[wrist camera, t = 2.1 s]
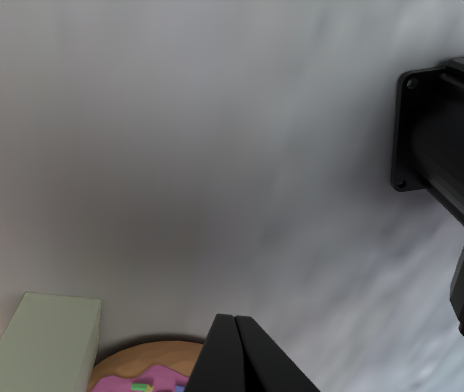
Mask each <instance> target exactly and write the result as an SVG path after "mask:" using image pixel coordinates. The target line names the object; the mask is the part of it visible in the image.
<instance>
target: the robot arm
mask: <svg viewBox="0 0 464 392" xmlns="http://www.w3.org/2000/svg"><path fill="white" fill-rule="evenodd" d="M412 78H414V82H413V84H412V85H411V86H409V87H408V86H407V83H408V81H409V80H410V79H412ZM401 180H404V181H403V183H402V184H400V185H398V183H399V182H400V181H401ZM391 185H392V187H393V188H394V189H395V190H396V191H398V192H404V191H412V190H419V189H427V190H428V191H429V192H430V193H431V194H432V195H433V196H434V197H435V198H436V199H437V200H438V201H439V202H440V203H441V204H442V205H443V206H444V207H445V208H446V209H447V210H448V211H449V212H450V213H451V214H452V215H453V216H454V217H455V218H456V219H457V220H458V221H459V222H460V223H461V224H462V225H463V226H464V57H461V58H454V59H450V60H449V61H448V62H447V63H445V66H443V67H436V68H429V69H422V70H414V71H409V72H406V73H404V74H403V75H402V76H401V78H400V80H399V85H398V97H397V109H396V121H395V133H394V146H393V158H392V170H391ZM450 302H451V304H452V307H453V309H454V311H455V314H456V316H457V318H458V320H459V321H460V324H459V331H460V333H461V334H462V335H463V336H464V247H463V250H462V253H461V256H460V257H459V260H458V263H457V266H456V270H455V273H454V276H453V279H452V282H451V287H450ZM183 392H320V390H319V389H318V388H317V387H316V386H315V385H314V384H313V383H312V382H311V381H310V380H309V379H308V377H307V376H306V375H305V374H304V373H303V372H302V371H301V370H300V369H299V368H298V367H297V366H296V364H295V363H294V362H293V361H292V360H291V359H290V358H289V357H288V356H287V355H286V354H285V353H284V351H283V350H282V349H281V348H280V347H279V346H278V345H277V344H276V343H275V342H274V341H273V340H272V338H271V337H270V336H269V335H268V334H267V333H266V332H265V331H264V330H263V329H262V328H261V327H260V325H259V324H258V323H257V322H256V321H255V320H254V319H253V318H252V317H249V316H238V315H237V316H235V317H234V316H232V315H227V314H217V315H216V317H215V319H214V321H213V324H212V326H211V328H210V330H209V333H208V335H207V337H206V340H205V342H204V344H203V347H202V349H201V351H200V353H199V356H198V358H197V360H196V363H195V365H194V367H193V370H192V372H191V374H190V377H189V379H188V381H187V383H186V386H185V388H184V390H183Z"/></svg>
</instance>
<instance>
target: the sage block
mask: <svg viewBox="0 0 464 392" xmlns="http://www.w3.org/2000/svg"><path fill="white" fill-rule="evenodd" d="M100 311H101V299H92V298H81V297H71V296H60V295H50V294H39V293H29V292H26V293H25V295H24V297H23V299H22V301H21V302H20V304H19V306H18V308H17V310H16V312H15V314H14V315H13V317H12V319H11V321H10V323H9V325H8V327H7V328H6V330H5V332H4V334H3V336H2V338H1V340H0V392H87V389H88V385H89V381H90V378H91V374H92V370H93V367H94V363H95V359H96V355H97V352H98V347H99V329H100Z"/></svg>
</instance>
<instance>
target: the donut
mask: <svg viewBox="0 0 464 392" xmlns="http://www.w3.org/2000/svg"><path fill="white" fill-rule="evenodd" d="M202 347H203V344H199V343H194V342H185V341H157V342H151V343H144V344H140V345H137V346H134V347H130V348H127V349H125V350H122V351H119V352H117V353H115V354H113V355H112V356H110V357H108V358H106V359H104V360H103V361H102V362H100V363H99V364H97V365H96V366H95V367H94V368H93V370H92V374H91V378H90V381H89V385H88V389H87V392H183V390H184V388H185V386H186V383H187V381H188V379H189V377H190V374H191V372H192V370H193V367H194V365H195V363H196V360H197V358H198V356H199V353H200V351H201V349H202Z"/></svg>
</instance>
